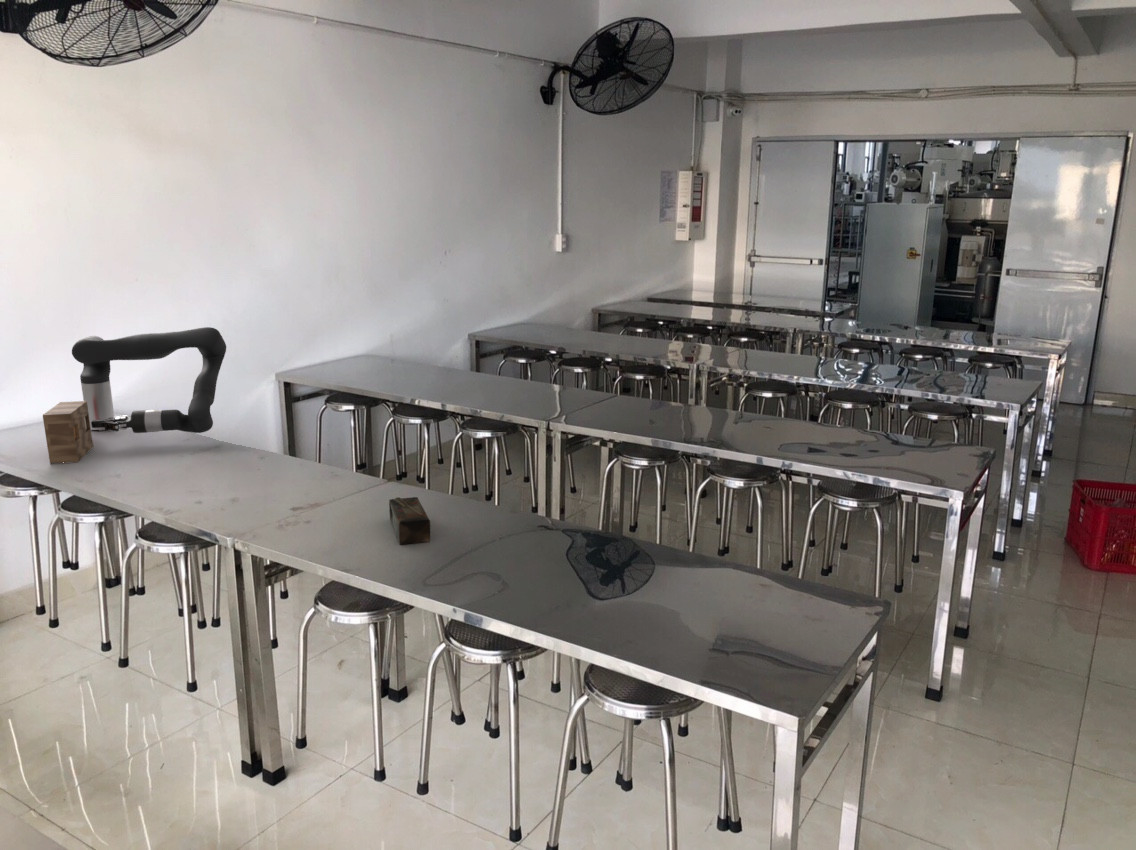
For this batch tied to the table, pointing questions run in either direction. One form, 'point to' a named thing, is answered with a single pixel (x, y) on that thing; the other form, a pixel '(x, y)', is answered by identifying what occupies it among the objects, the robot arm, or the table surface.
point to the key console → (67, 431)
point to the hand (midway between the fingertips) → (92, 424)
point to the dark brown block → (409, 520)
